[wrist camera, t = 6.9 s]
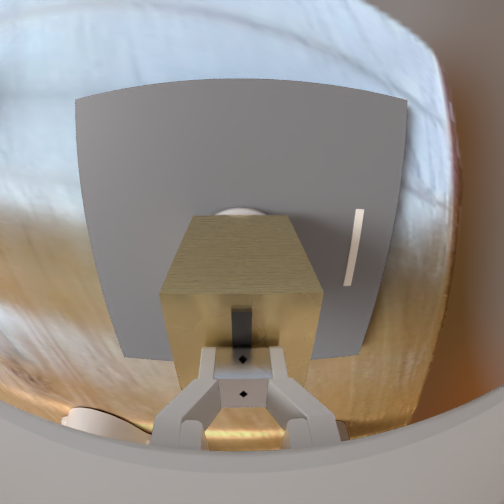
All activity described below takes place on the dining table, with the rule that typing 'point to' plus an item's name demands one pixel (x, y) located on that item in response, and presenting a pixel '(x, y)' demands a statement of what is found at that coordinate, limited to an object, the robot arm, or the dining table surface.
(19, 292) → the dining table surface
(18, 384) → the dining table surface
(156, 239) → the stud plate
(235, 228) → the brushed gold block
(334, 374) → the dining table surface
